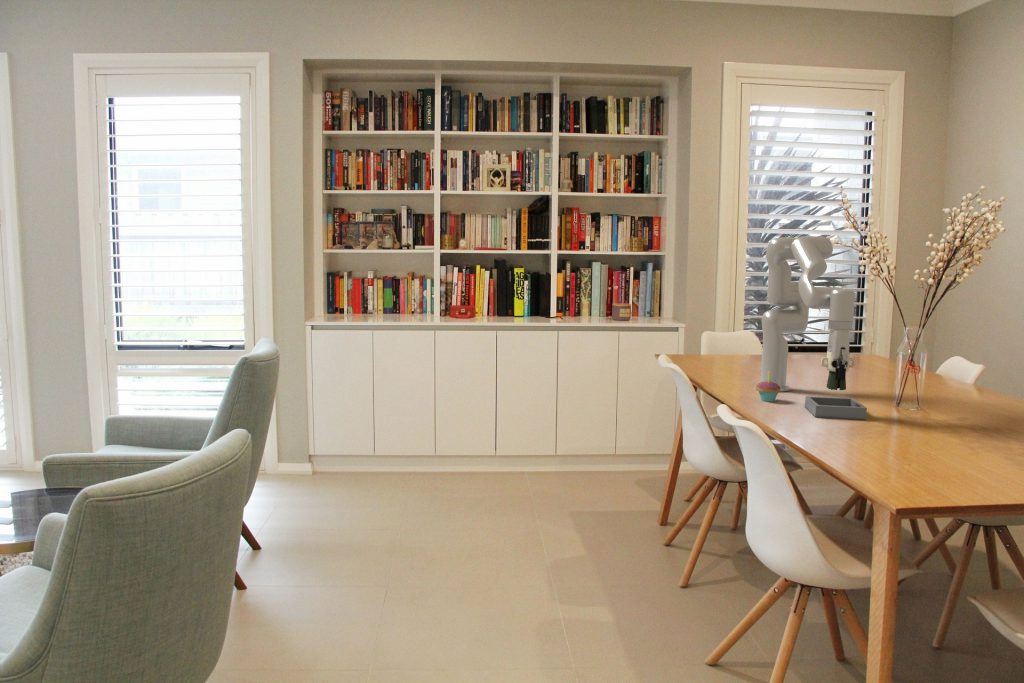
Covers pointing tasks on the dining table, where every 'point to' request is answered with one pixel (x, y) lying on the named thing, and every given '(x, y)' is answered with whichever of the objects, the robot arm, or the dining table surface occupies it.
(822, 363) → the character mug
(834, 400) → the grey tray
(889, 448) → the dining table surface
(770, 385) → the cupcake
